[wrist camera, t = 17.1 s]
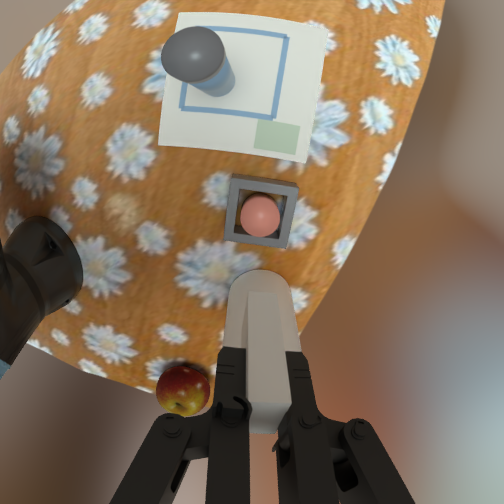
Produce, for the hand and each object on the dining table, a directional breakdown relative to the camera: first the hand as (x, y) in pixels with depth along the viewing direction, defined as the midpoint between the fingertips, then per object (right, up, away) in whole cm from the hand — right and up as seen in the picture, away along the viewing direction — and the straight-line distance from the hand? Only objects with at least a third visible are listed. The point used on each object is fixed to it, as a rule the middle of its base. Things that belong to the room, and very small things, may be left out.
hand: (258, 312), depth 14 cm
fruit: (-12, -19, +30) cm, 38 cm away
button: (+1, +8, +15) cm, 17 cm away
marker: (-4, +21, +9) cm, 23 cm away
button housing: (+1, +8, +16) cm, 18 cm away
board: (-1, +21, +10) cm, 23 cm away
